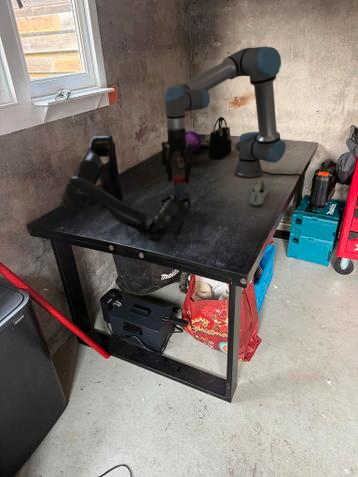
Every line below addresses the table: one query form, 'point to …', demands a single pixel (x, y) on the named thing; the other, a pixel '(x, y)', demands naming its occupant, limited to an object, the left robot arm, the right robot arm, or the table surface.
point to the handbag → (220, 141)
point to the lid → (179, 179)
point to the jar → (180, 192)
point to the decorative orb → (193, 140)
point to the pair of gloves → (206, 141)
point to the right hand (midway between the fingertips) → (178, 181)
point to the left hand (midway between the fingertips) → (181, 195)
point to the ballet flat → (258, 193)
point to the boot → (180, 159)
